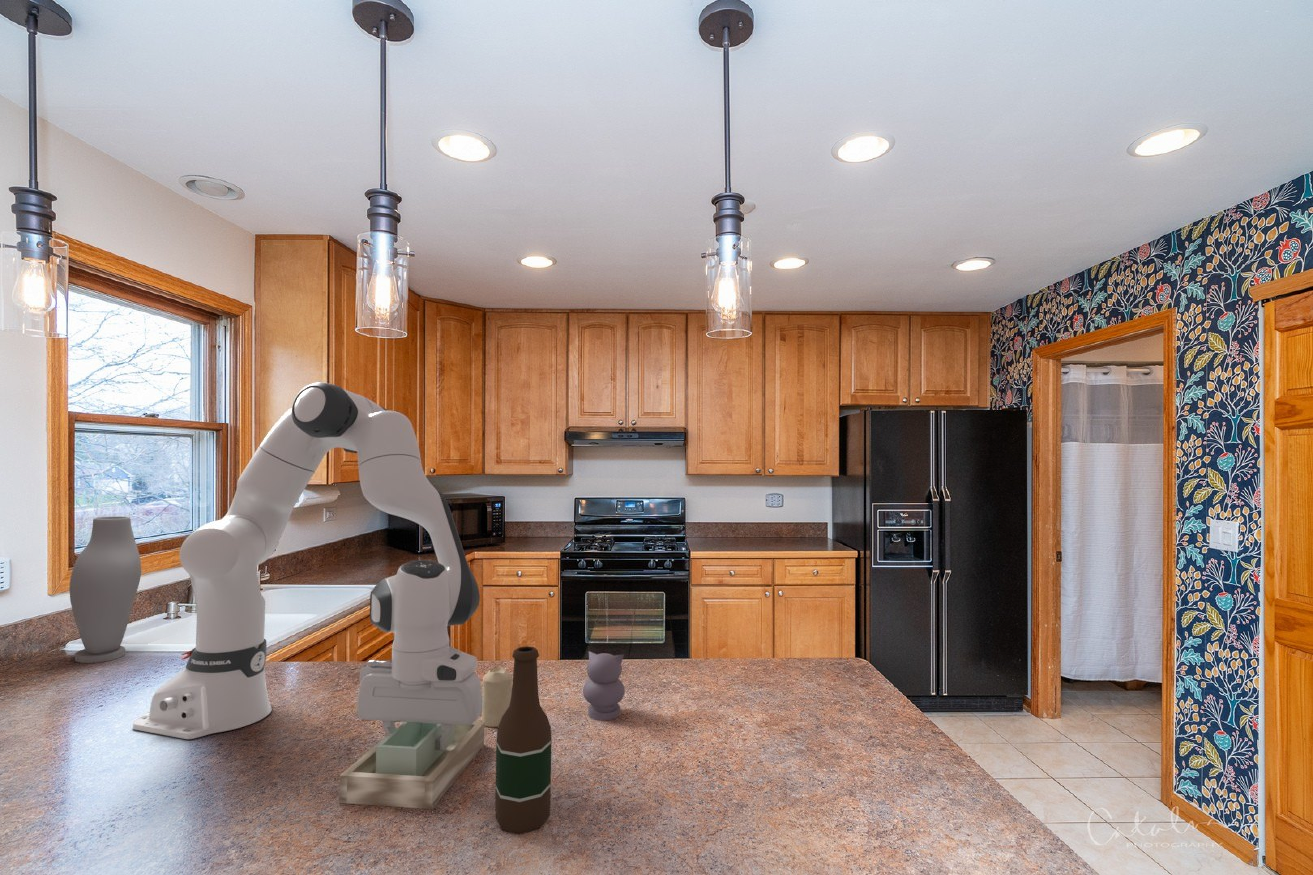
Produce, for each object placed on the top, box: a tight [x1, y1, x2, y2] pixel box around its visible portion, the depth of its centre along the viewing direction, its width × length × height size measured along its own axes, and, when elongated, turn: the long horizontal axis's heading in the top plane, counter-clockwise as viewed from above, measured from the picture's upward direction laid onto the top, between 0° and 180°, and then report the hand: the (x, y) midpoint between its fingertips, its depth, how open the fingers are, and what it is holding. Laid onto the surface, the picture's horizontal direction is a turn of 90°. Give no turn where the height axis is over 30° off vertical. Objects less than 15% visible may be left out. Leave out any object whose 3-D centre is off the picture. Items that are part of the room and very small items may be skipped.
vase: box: [68, 515, 142, 664], centre depth 156 cm, size 13×13×35 cm
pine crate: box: [338, 721, 485, 810], centre depth 101 cm, size 14×20×4 cm
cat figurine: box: [582, 650, 626, 722], centre depth 125 cm, size 8×8×12 cm
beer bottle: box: [494, 645, 552, 835], centre depth 89 cm, size 8×8×24 cm
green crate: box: [376, 722, 455, 776], centre depth 101 cm, size 6×14×5 cm, turn 175°
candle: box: [481, 667, 513, 728], centre depth 121 cm, size 6×6×10 cm
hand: (418, 747), depth 101 cm, fingers closed on green crate, 6 cm apart
